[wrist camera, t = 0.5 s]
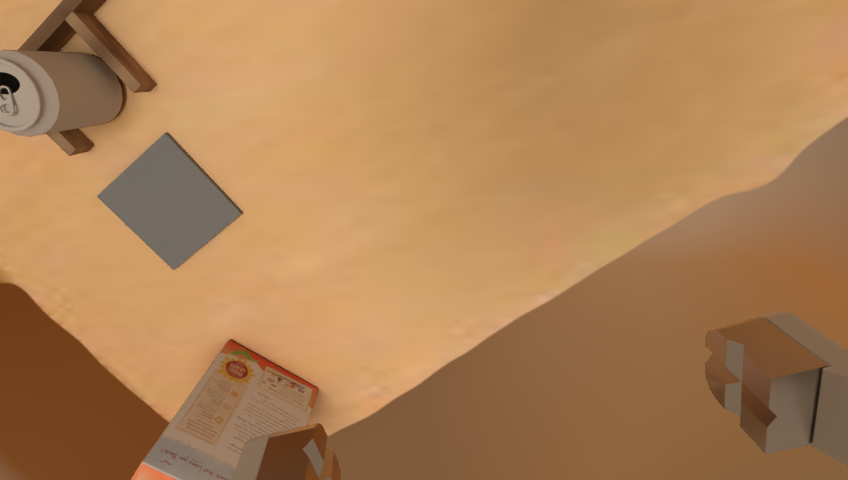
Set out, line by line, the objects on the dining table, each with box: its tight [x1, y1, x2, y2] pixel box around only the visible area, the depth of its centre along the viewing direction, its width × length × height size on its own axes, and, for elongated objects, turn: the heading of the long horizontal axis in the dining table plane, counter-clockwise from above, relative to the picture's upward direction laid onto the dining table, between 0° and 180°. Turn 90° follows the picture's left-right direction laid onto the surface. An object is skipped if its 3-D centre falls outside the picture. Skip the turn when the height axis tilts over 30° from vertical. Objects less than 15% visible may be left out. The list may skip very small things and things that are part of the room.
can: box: [0, 50, 123, 137], centre depth 47 cm, size 8×8×12 cm
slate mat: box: [97, 133, 243, 270], centre depth 56 cm, size 12×12×1 cm
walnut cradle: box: [18, 0, 157, 156], centre depth 50 cm, size 10×20×3 cm, turn 128°
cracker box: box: [131, 340, 318, 480], centre depth 55 cm, size 14×6×21 cm, turn 54°
